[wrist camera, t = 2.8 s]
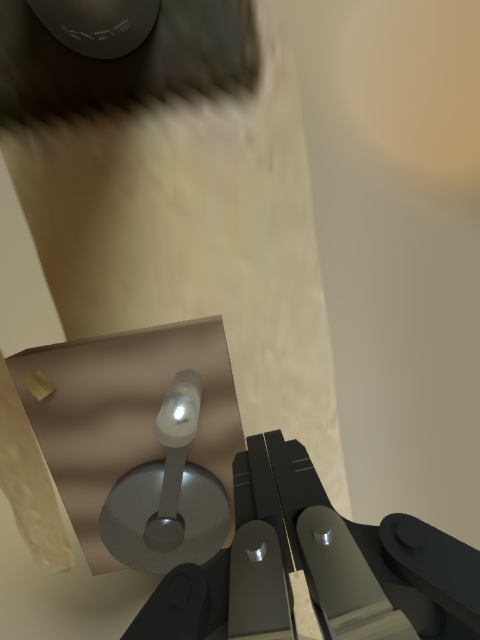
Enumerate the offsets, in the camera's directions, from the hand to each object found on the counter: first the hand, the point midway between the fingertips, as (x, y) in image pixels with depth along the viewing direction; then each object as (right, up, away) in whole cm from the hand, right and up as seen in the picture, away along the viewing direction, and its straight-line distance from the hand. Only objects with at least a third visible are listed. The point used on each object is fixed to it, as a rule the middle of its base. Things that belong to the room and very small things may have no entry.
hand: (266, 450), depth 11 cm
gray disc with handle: (-7, -8, +13) cm, 17 cm away
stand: (-10, -7, +15) cm, 20 cm away
